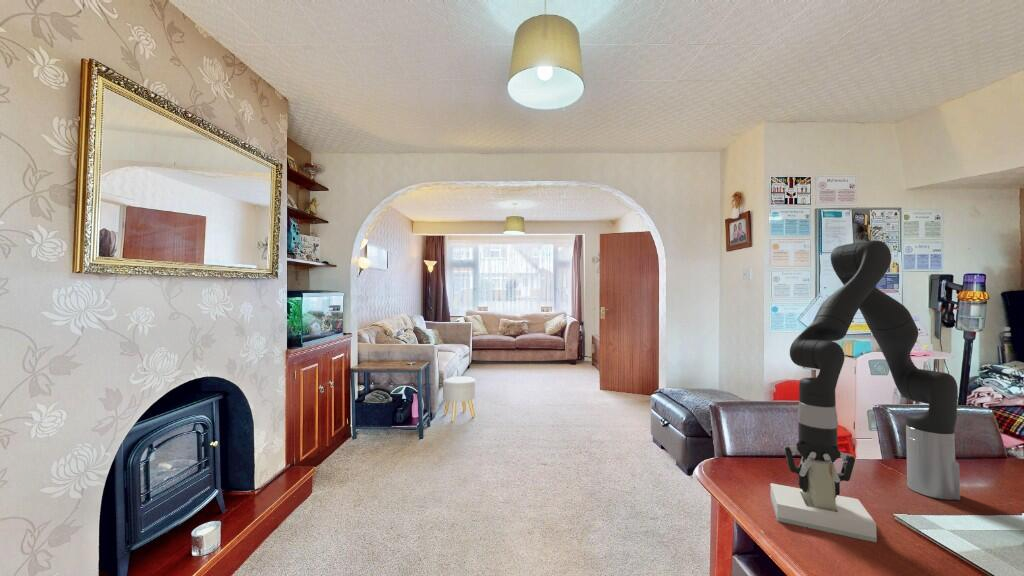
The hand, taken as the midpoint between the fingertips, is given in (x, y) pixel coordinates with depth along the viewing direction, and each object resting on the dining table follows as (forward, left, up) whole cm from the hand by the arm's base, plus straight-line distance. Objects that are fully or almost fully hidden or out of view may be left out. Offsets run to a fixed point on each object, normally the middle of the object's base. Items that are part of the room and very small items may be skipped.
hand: (818, 493), depth 95 cm
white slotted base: (0, 0, -6) cm, 6 cm away
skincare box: (0, 0, -4) cm, 4 cm away
